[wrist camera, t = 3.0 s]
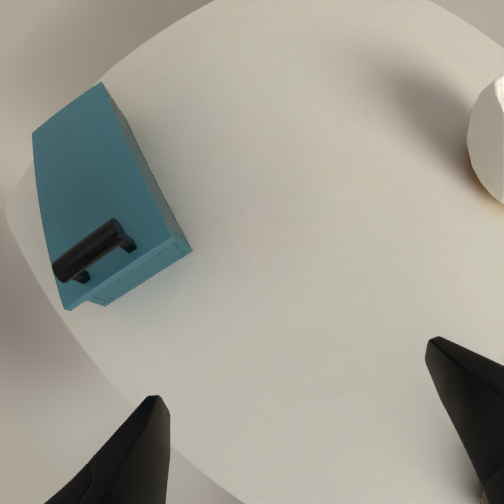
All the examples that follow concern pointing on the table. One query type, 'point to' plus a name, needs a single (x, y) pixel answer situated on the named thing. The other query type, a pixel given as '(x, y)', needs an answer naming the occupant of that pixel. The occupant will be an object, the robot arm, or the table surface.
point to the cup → (488, 138)
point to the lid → (93, 198)
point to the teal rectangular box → (162, 257)
